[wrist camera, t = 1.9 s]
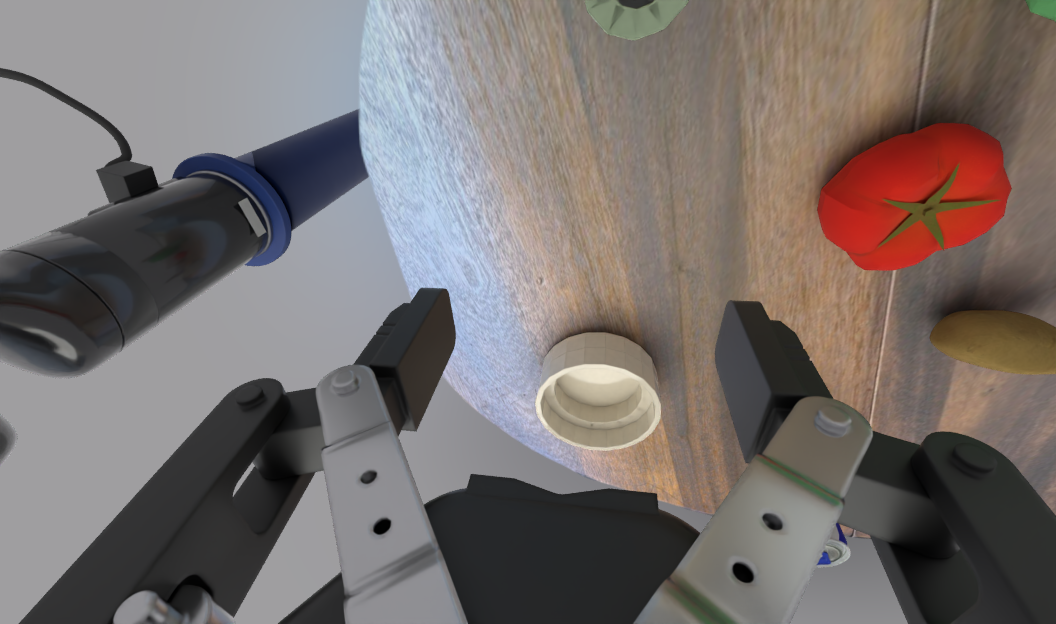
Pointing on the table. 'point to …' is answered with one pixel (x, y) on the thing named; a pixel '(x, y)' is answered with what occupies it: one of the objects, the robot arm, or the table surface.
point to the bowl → (598, 392)
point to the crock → (634, 16)
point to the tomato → (915, 196)
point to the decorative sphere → (1043, 8)
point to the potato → (998, 341)
